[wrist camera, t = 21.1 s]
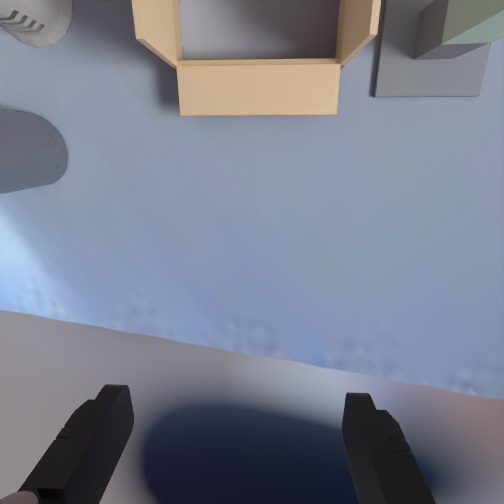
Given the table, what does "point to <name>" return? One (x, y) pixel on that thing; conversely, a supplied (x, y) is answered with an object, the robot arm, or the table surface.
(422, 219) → the table surface
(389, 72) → the mat
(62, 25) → the french press
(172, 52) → the carton
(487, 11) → the box
